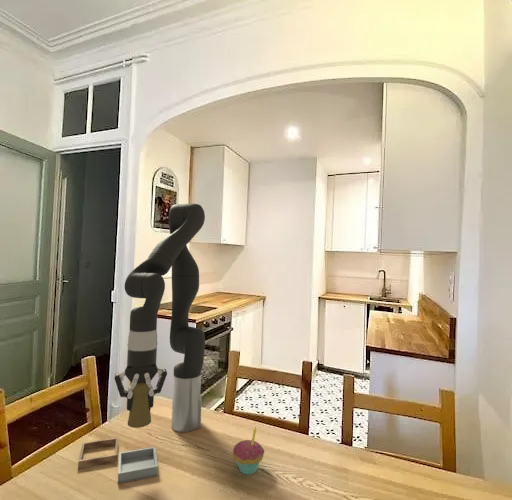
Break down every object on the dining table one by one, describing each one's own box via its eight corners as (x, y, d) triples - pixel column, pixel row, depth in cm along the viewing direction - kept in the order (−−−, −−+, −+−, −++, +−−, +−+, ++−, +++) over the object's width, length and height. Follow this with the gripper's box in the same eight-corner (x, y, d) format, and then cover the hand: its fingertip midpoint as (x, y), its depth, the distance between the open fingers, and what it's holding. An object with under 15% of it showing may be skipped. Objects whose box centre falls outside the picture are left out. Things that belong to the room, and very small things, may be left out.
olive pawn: (143, 429, 87) (145, 386, 87) (122, 426, 88) (124, 383, 89) (155, 418, 93) (156, 378, 93) (135, 415, 94) (137, 376, 94)
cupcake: (267, 464, 94) (268, 420, 94) (257, 482, 86) (258, 435, 86) (238, 457, 97) (240, 415, 97) (226, 474, 89) (228, 428, 89)
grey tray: (154, 455, 96) (155, 446, 96) (157, 476, 87) (158, 466, 88) (118, 461, 93) (118, 452, 93) (117, 483, 84) (118, 473, 84)
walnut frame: (117, 444, 102) (118, 437, 102) (116, 462, 93) (117, 454, 93) (82, 449, 98) (82, 442, 98) (77, 469, 89) (78, 461, 89)
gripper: (167, 341, 97) (165, 401, 97) (114, 344, 92) (111, 407, 92) (171, 348, 90) (168, 412, 90) (113, 351, 85) (110, 420, 85)
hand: (139, 409), depth 91 cm, fingers closed on olive pawn, 4 cm apart
